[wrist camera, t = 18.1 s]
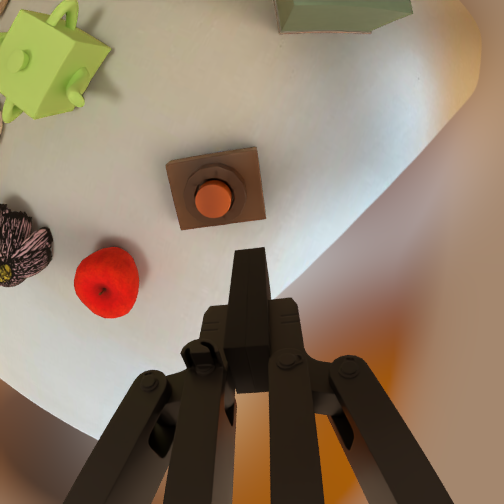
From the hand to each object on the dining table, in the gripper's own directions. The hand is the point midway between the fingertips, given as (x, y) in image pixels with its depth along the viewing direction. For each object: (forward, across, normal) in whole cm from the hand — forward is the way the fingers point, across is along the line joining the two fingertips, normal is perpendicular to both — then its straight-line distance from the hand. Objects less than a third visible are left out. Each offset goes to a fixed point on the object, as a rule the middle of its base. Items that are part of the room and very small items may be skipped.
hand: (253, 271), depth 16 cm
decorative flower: (+21, -37, -2) cm, 43 cm away
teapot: (+21, -20, +19) cm, 35 cm away
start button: (+17, -4, -1) cm, 18 cm away
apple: (+21, -20, -10) cm, 30 cm away
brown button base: (+21, -4, -1) cm, 21 cm away
